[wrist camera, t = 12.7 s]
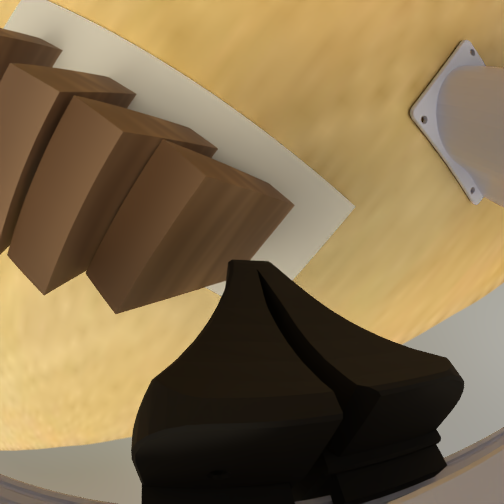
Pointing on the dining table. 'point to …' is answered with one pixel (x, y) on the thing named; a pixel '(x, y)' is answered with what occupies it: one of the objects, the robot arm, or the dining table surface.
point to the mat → (198, 127)
